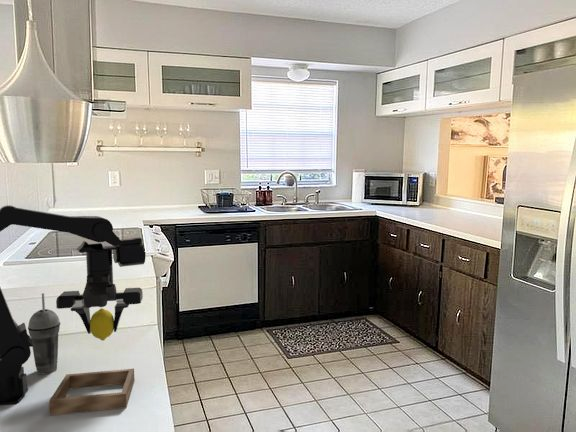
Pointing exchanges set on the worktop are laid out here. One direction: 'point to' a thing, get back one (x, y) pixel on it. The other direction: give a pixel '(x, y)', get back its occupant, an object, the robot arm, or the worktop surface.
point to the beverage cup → (44, 339)
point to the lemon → (102, 324)
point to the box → (92, 402)
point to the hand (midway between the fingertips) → (102, 332)
